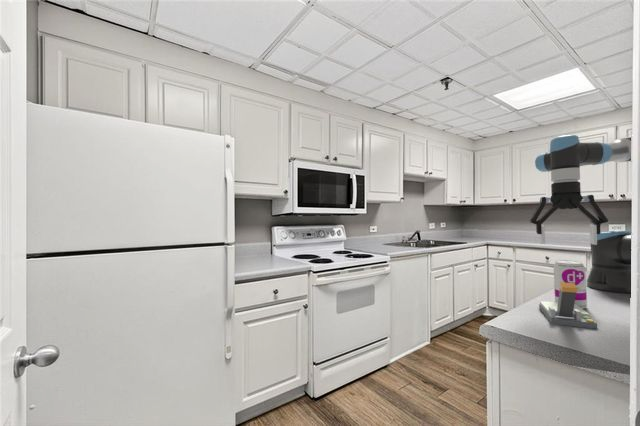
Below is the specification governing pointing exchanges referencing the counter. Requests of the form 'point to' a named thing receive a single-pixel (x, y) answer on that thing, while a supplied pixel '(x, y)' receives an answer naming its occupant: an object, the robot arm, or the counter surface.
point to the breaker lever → (566, 300)
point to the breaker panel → (579, 320)
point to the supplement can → (571, 279)
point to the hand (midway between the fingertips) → (567, 244)
